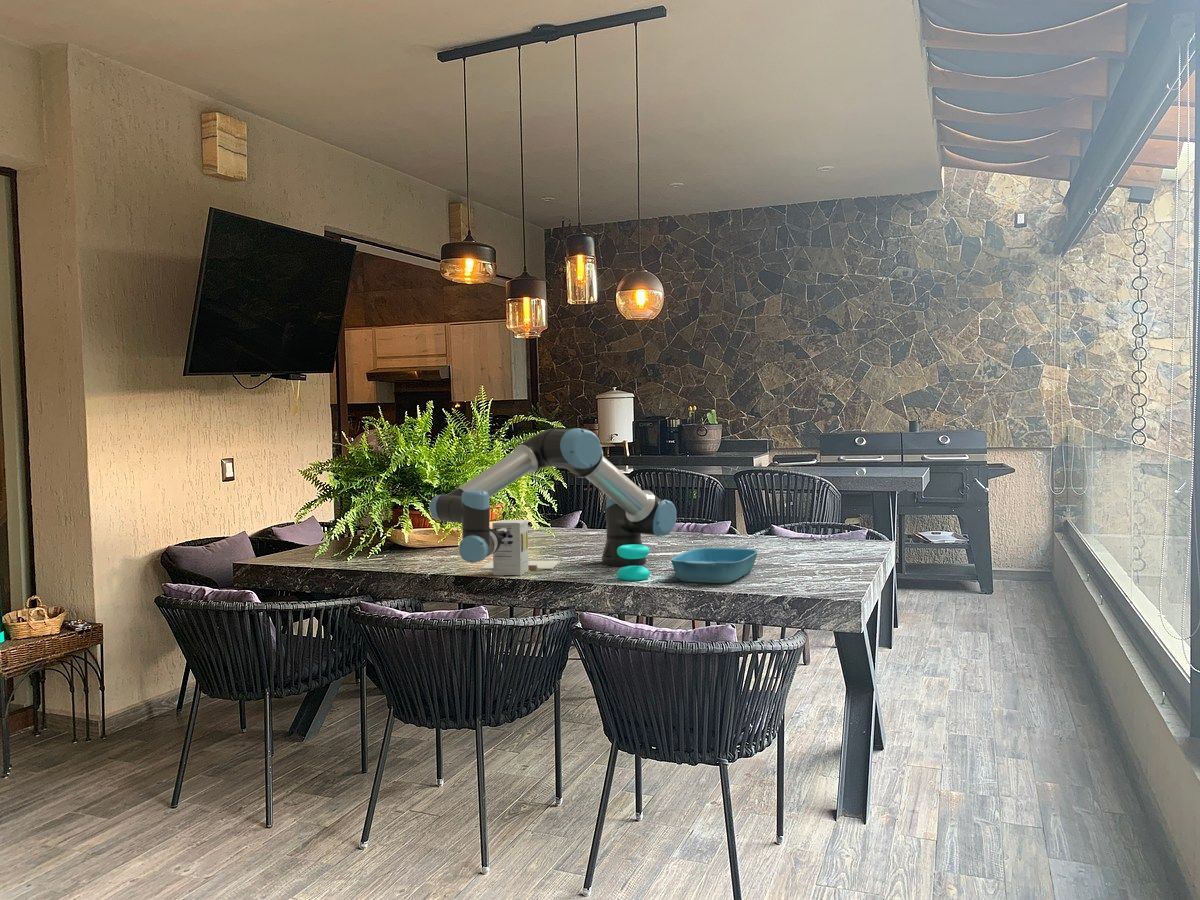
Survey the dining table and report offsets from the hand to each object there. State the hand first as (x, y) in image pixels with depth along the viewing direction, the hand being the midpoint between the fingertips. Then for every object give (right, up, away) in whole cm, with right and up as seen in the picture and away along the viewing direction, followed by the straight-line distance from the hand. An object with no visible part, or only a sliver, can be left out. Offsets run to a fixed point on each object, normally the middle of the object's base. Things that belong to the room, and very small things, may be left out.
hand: (504, 532), depth 292 cm
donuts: (+40, -14, -4) cm, 43 cm away
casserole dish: (+65, -14, -1) cm, 67 cm away
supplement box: (+1, -14, +9) cm, 17 cm away
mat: (+3, -13, +24) cm, 27 cm away
